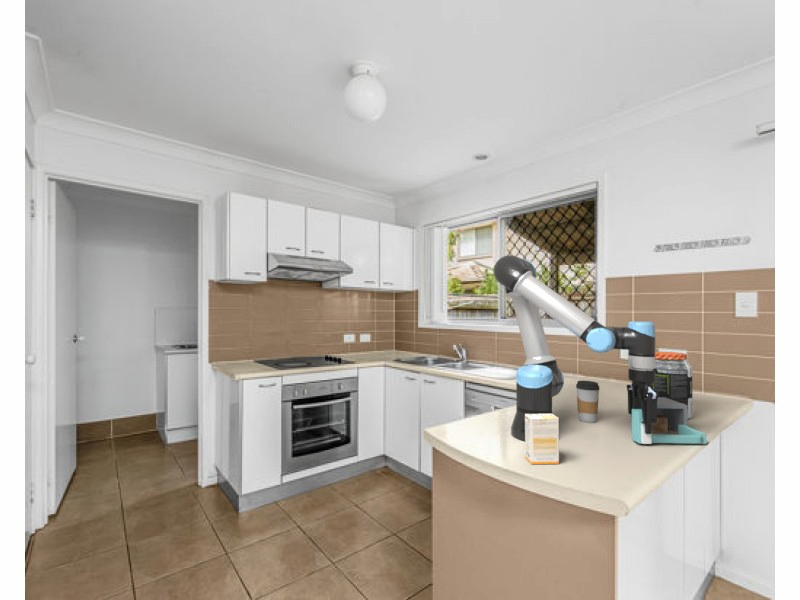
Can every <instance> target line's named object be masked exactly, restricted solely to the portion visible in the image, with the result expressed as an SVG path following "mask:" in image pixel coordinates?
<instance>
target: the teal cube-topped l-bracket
mask: <svg viewBox="0 0 800 600" xmlns="http://www.w3.org/2000/svg"><path fill="white" fill-rule="evenodd" d="M641 421H643V416H642V409H632V423H631V440H632V441H634V442H636V443H637V444H639V445H640V444H642V443H641ZM677 432H678V434H653V432H652V433H651V444H650V445H652V444H653V443H654V444H656V443H657V444H658V443H659V444H702V445H704V444H707V433H705V432H702V431H699V430H697V429H695V428H693V427H690V426H686V425H678V431H677Z"/></svg>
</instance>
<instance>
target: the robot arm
mask: <svg viewBox="0 0 800 600" xmlns="http://www.w3.org/2000/svg"><path fill="white" fill-rule="evenodd" d="M493 276H494V278H495V280H496V281H497V282H498V284H499V285H502V286H503V287H504V290H505V293H506V297H509V298H511V301H512V305H513V309H514V313H515V314H514V315H515V317H516V321H517V325H518V329H519V332H520V334H519V335H520V338H521V341H522V344H523V349H524V353H525V358H526V359H525V362H524V363H523V365H522V366H520V367H518V369H517V370H516V375H515V382H516V384H515V385H516V386H515V387H516V394H515V395H516V396H515V397H516V402H515V403H516V405H515V406H516V408H515V411H516V412H515V414H514V416H513V417H514V418H513V420H512V423H511V426H510V435H511V436H512V437H514V438H515V439H517V440H521V441H524V442H525V414H553V398H554V397H556V396H558V394H559V393H560V392H561V391H562V389H563V387H564V384H565V378H564V374H563V372H562V370H561V369H560V368H559V366H558V362H557V359H556V357H554V356H553V355H551V352H550V349H549V344H548V341H547V337H546V333H545V330H544V329H545V328H544V326H543V322H542V319H541V313H540V310H541V311H543V312H544V313H545V314H546V315H548V316H550V317H551V318H552V319H553V320H554V321H556V322H558V324H559V325H561V326H562V327H564V328H566V329H567V330H568V331H569V332H570V333H572V334H573V335H574V336H576V337H578V338H579V339H580V340H581V341H582V342H584V343H585V344H586V345H587V347H588V348H589V349H590V350H592V351H593V352H594V353H595V352H596V353H600V354H601V353H608V352H609V351H612V350H624V351H625V350H627V351H628V354H627V358H628V359H627V364H628V365H627V366H628V367H629V368H628V373H627V374H628V375H627V377H628V378H627V379H628V380H629V381H631V384H627V385H626V391H627V414H628V415H630V418H631V417H632V411H631V410H632V409H642V416H643V421H641V443H642V444H643V445H647V444H648V445H649V444H650V445H652V444H651V433H652V434H653V432H652V424H653V423H657V399H658V396H659V394H658V393H657V392H654V391H653V390H652V385H651V384H652V382H655V371H654V370H653V369H655V352H656V327H655V326H656V325H655V324H654V323H653V322H651V321H629V322H628V324H627V326H622V327H621V326H619V327H618V326H605V325H603V324H602V323H600V322H599V321H597V320H596V319H594V318H593V317H591V316H590V315H588V314H587V313H586V312H584V311H583V310H581V309H580V308H579V307H578V306H576V305H574V304H573V303H572V302H570V301H569V300H568V299H566V298H564V297H563V296H562V295H560V294H559V293H557V292H556V291H555V290H553V289H552V288H550V287H549V286H548V285H546V284H545V283H543V282H542V281H541V280H539V279H538V278H537V270H536V268H535V266H534V265H533V263H532V262H530V261H529V260H527V259H525V258H522V257H520V256H519V257H518V256H517V255H510V254H509V255H508V254H507V255H504V256H502V257H500V258H499V259H498V260H497V261H496V262H495V265H494V267H493ZM539 309H540V310H539ZM644 398H647V399H644Z"/></svg>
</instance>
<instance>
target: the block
mask: <svg viewBox="0 0 800 600" xmlns="http://www.w3.org/2000/svg"><path fill="white" fill-rule="evenodd" d="M652 433H668V426H667V418H665V417H663V416H661V415H657V423H653V424H652Z"/></svg>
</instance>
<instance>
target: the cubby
mask: <svg viewBox="0 0 800 600" xmlns="http://www.w3.org/2000/svg"><path fill="white" fill-rule="evenodd" d="M644 399H647V398H644ZM631 411H632V410H631ZM657 415H661V416H663V417H665V418H667V428H671V429H673V430H675V431H677V432H678V425H686V426H688V421H689V420H688V412H687V405H685V404H682V403H679V402H676V401H674V400H671V399H668V398H665V397H658V399H657ZM630 424H632V417H631V416H630ZM688 427H689V426H688Z"/></svg>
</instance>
